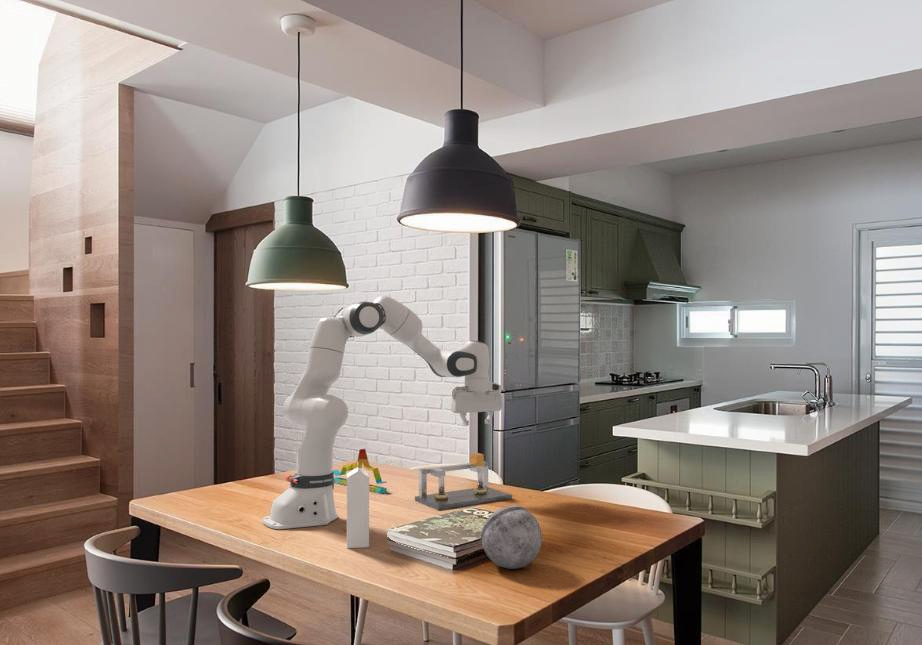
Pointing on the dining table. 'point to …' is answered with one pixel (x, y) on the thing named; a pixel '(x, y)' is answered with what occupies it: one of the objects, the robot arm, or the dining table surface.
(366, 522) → the milk
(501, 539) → the decorative orb
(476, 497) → the plate
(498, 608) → the dining table surface
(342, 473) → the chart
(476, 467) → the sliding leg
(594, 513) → the dining table surface
